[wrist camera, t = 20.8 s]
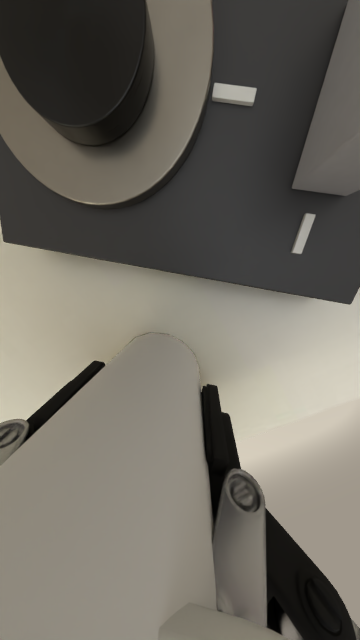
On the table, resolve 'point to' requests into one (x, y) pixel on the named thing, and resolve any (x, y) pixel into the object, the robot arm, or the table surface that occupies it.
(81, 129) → the burner
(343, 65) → the hob knob
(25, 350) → the table surface
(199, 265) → the hob
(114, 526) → the white cup
